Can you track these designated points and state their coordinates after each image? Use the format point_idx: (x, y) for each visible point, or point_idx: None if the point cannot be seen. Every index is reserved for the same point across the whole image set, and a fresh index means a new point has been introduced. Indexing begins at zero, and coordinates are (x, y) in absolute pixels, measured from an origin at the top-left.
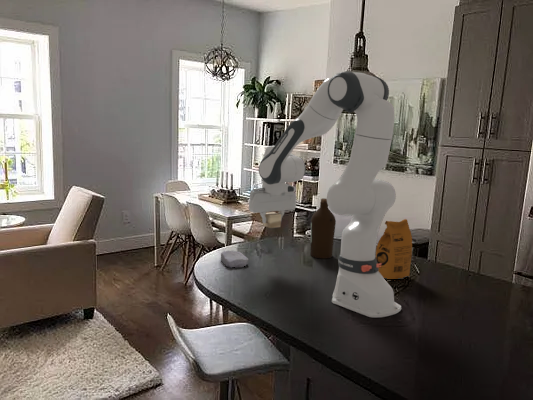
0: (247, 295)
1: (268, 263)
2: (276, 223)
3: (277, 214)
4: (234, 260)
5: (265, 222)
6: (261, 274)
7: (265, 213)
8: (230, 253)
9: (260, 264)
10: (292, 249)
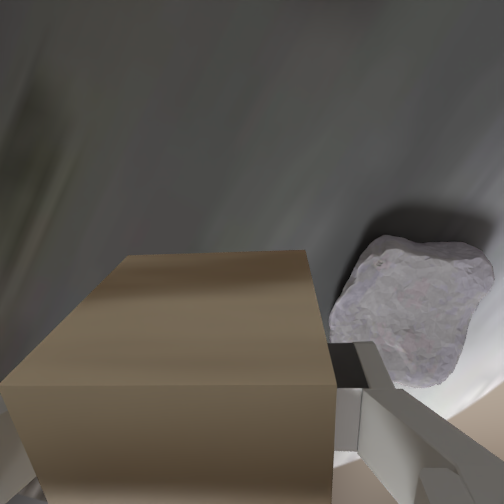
0: None
1: (243, 230)
2: (184, 279)
3: (93, 417)
4: (458, 259)
5: (358, 344)
6: (384, 73)
7: (443, 501)
8: (421, 348)
9: (290, 232)
10: None
